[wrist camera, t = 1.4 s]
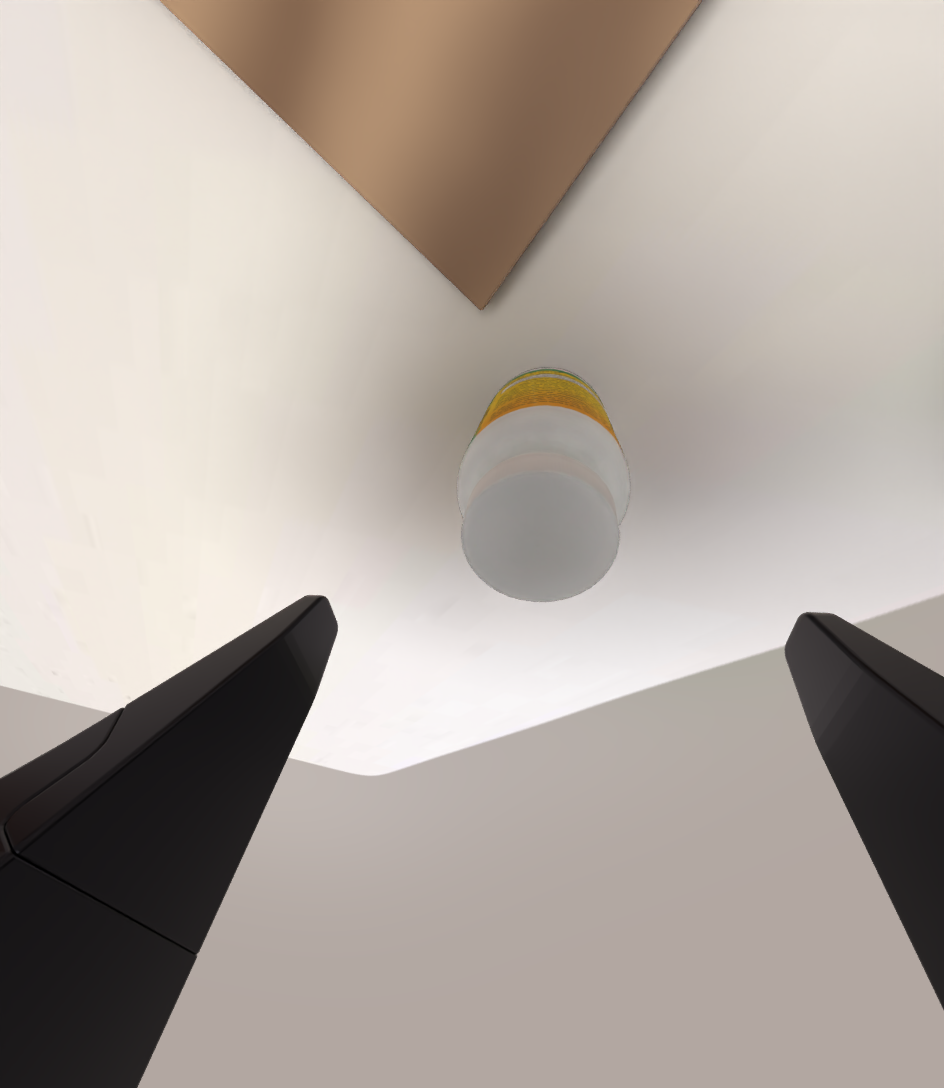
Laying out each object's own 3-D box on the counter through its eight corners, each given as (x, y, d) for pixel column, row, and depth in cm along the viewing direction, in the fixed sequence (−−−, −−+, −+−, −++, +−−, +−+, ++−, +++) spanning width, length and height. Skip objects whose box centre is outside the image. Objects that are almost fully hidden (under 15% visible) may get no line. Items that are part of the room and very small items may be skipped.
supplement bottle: (603, 479, 19) (641, 624, 11) (492, 486, 20) (453, 622, 12) (607, 355, 16) (663, 432, 8) (477, 372, 17) (414, 455, 9)
